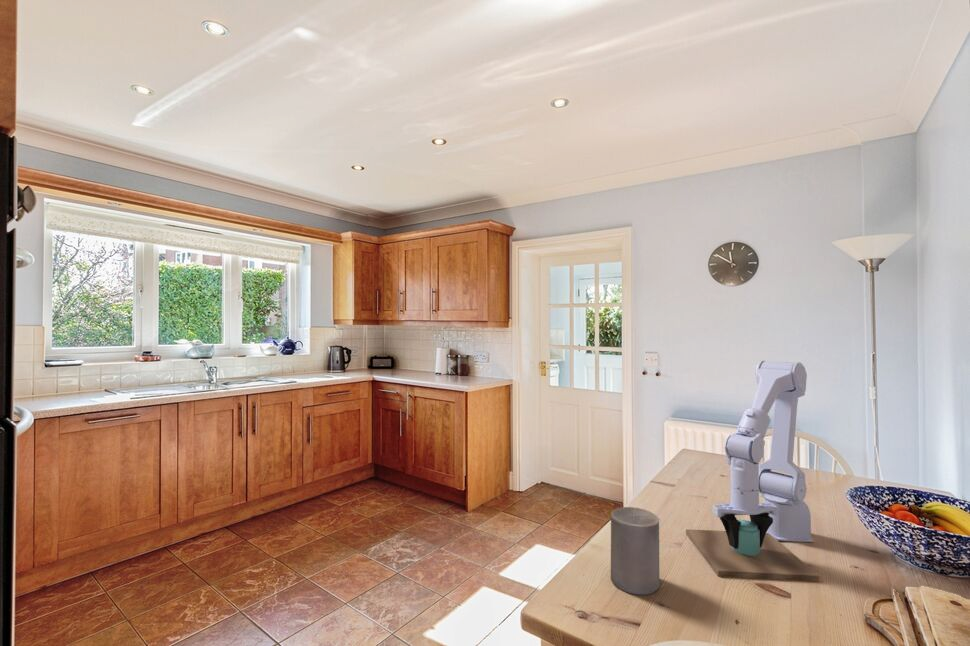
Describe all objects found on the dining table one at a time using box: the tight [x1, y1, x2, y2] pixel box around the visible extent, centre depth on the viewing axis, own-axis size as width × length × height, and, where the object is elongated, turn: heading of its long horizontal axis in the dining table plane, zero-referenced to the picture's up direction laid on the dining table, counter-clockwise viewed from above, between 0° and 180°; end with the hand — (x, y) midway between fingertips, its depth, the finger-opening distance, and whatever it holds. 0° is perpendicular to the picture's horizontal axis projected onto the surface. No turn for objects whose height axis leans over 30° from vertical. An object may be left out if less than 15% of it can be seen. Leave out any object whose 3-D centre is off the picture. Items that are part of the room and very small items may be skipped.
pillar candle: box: [610, 506, 661, 596], centre depth 93 cm, size 10×10×15 cm
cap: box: [731, 519, 760, 556], centre depth 104 cm, size 5×6×6 cm
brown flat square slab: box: [685, 529, 820, 582], centre depth 104 cm, size 20×20×1 cm
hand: (745, 546), depth 104 cm, fingers open, 5 cm apart
